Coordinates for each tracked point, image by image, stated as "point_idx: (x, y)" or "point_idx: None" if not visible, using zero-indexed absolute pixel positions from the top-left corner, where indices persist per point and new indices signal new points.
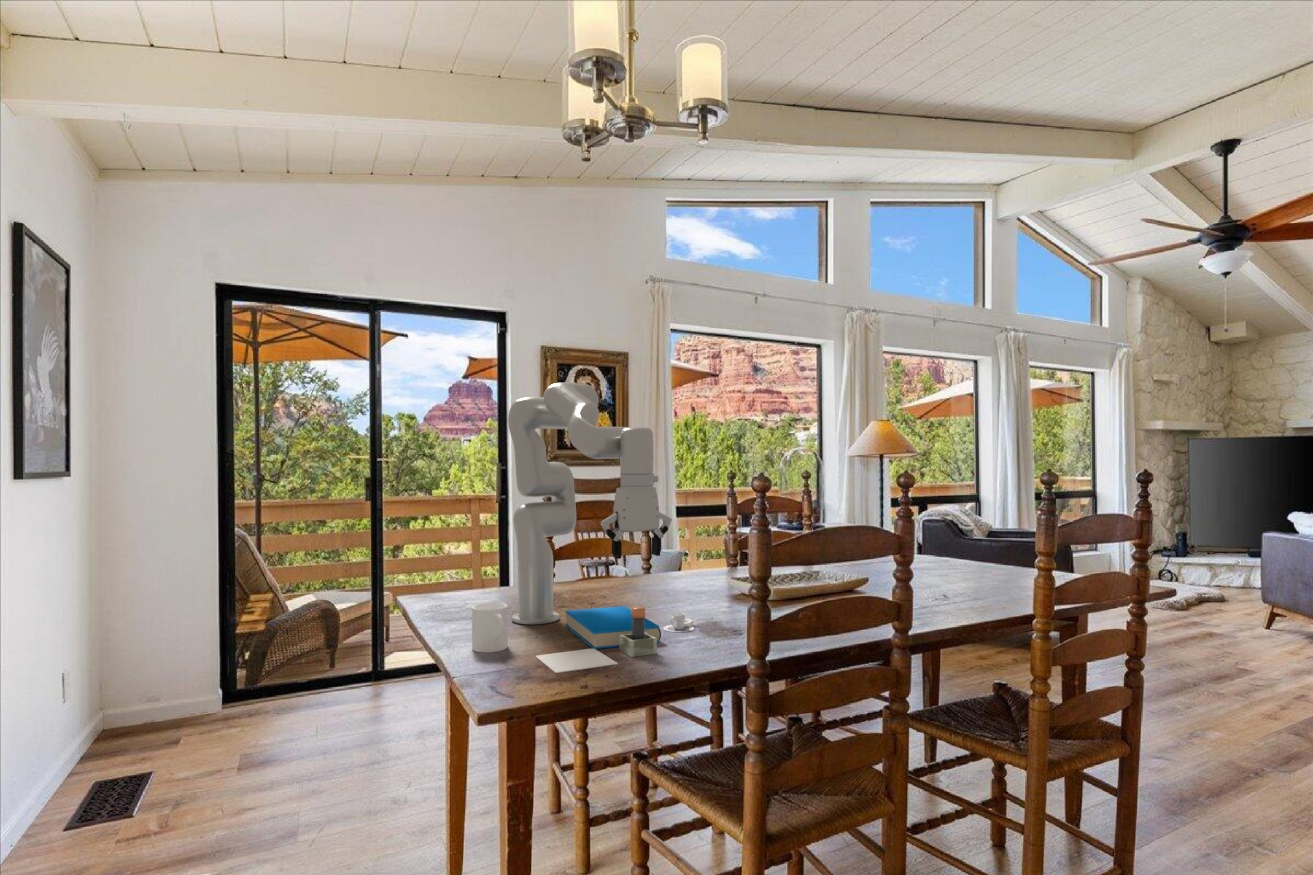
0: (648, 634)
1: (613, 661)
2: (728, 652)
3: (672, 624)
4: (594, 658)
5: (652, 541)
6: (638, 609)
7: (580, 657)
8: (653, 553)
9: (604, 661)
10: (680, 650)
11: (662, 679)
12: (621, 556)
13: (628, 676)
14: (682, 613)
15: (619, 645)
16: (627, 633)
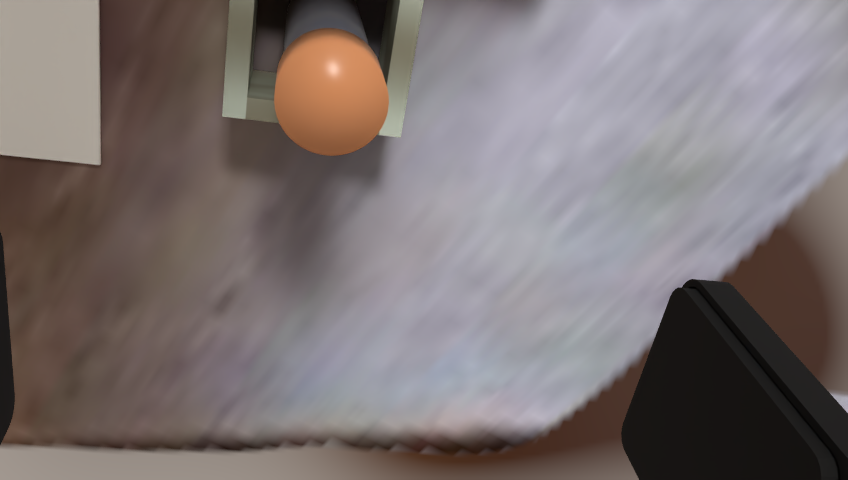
0: (409, 36)
1: (92, 121)
2: (672, 277)
3: None
4: (8, 4)
5: (766, 456)
6: (304, 147)
7: None
8: (661, 347)
9: (43, 94)
10: (529, 127)
11: (185, 433)
12: (4, 434)
13: (68, 343)
14: None
15: None
16: None
